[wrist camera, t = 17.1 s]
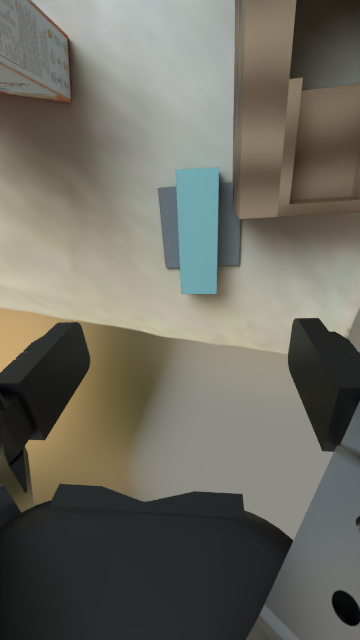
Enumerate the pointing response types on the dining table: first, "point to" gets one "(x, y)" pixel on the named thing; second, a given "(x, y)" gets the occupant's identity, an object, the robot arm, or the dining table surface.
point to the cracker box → (32, 53)
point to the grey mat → (226, 227)
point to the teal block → (198, 229)
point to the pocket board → (288, 125)
